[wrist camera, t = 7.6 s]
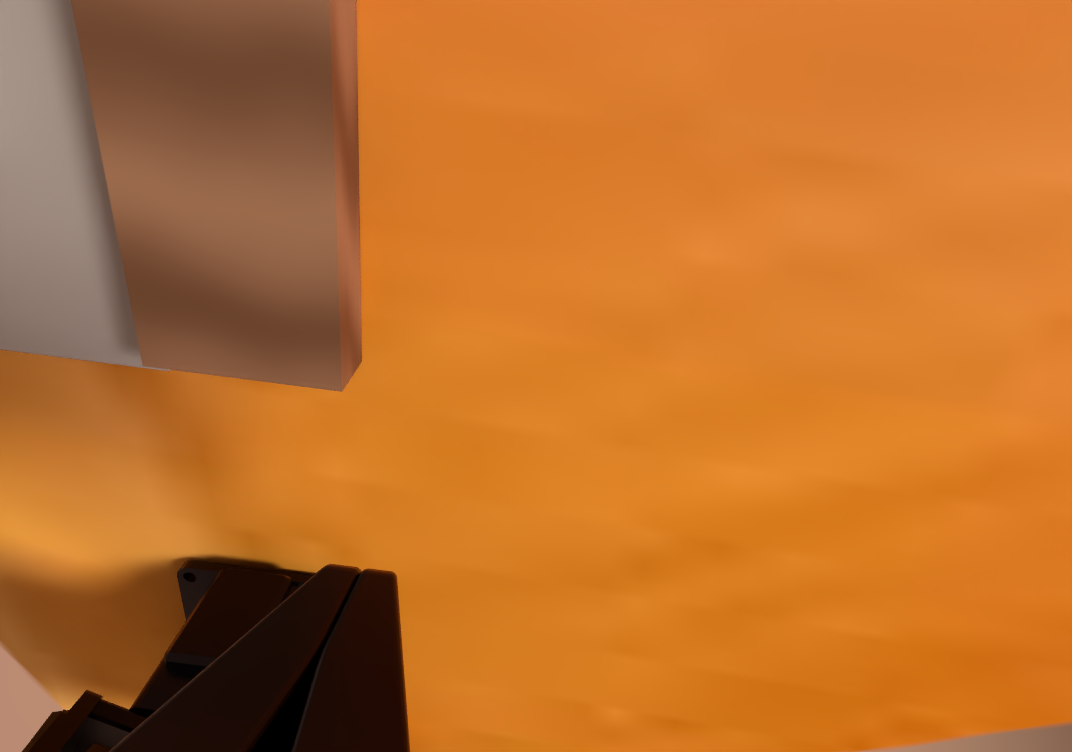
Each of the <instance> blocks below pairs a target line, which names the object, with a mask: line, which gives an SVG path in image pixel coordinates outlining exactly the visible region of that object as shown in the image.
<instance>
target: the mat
mask: <svg viewBox="0 0 1072 752" xmlns="http://www.w3.org/2000/svg"><path fill="white" fill-rule="evenodd" d="M0 350H8V351H16V352H24V353H32V354H39V355H47V356H55V357H63V358H71V359H78V360H86V361H94V362H102V363H109V364H117V365H125V366H133V367H141V368H148V369H156V370H164V371H170V369H162V368H154V367H146V366H143V365H142V360H141V355H140V350H139V345H138V340H137V335H136V330H135V325H134V320H133V315H132V309H131V304H130V299H129V294H128V289H127V284H126V279H125V274H124V269H123V264H122V259H121V253H120V248H119V243H118V238H117V233H116V228H115V223H114V218H113V213H112V208H111V203H110V198H109V192H108V187H107V182H106V177H105V172H104V167H103V162H102V157H101V152H100V147H99V142H98V136H97V131H96V126H95V121H94V116H93V111H92V106H91V101H90V96H89V91H88V86H87V80H86V75H85V70H84V65H83V60H82V55H81V50H80V45H79V40H78V35H77V30H76V25H75V19H74V14H73V9H72V4H71V0H0Z"/></svg>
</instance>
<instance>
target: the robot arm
mask: <svg viewBox="0 0 1072 752" xmlns="http://www.w3.org/2000/svg"><path fill="white" fill-rule="evenodd" d="M177 577H178V582H179V587H180V592H181V597H182V602H183V607H184V612H185V617H186V622H185V624H184V625H183V627H182V628H181V630H180V631H179V633H178V634H177V636H176V637H175V639H174V640H173V642H172V643H171V645H170V646H169V648H168V649H167V651H166V652H165V655H164V658H163V659H162V661H161V662H160V664H159V665H158V667H157V668H156V670H155V671H154V673H153V674H152V676H151V677H150V679H149V680H148V682H147V683H146V685H145V686H144V688H143V690H142V691H141V693H140V694H139V696H138V697H137V699H136V700H135V702H134V703H133V705H132V706H131V708H130V709H129V710H128V709H126V708H123V707H121V706H118V705H115V704H113V703H110V702H108V701H105V700H103V699H102V698H103V696H101V695H99V694H96V693H94V692H91V691H89V690H86V691H85V692H84V693H83V695H82V696H81V697H80V698H79V699H78V701H77V702H76V703H75V704H74V705H73V707H72V708H71V709H70V710H67V711H66V710H63V711H58V712H52V713H51V715H50V716H49V717H48V719H47V720H46V721H45V723H44V724H43V725H42V726H41V728H40V729H39V731H38V732H37V733H36V734H35V736H34V737H33V738H32V739H31V741H30V742H29V743H28V745H27V746H26V747H25V748H24V750H23V751H22V752H410V744H409V731H408V718H407V705H406V691H405V678H404V665H403V652H402V638H401V625H400V612H399V599H398V585H397V576H396V574H395V573H394V572H391V571H383V570H375V569H365V570H363V571H362V572H361V570H360V569H359V568H357V567H352V566H344V565H336V564H329V565H326V566H325V567H323V568H322V569H321V570H319V571H318V572H317V573H316V574H315V575H314V576H310V575H303V574H295V573H287V572H279V571H271V570H264V569H256V568H248V567H240V566H232V565H224V564H217V563H209V562H201V561H187V562H185V563H184V564H183V565H182V567H181V568H180V569H179V571H178V572H177Z"/></svg>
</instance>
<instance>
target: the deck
mask: <svg viewBox="0 0 1072 752" xmlns="http://www.w3.org/2000/svg"><path fill="white" fill-rule="evenodd" d="M71 4H72V9H73V14H74V19H75V25H76V30H77V35H78V40H79V45H80V50H81V55H82V60H83V65H84V70H85V75H86V80H87V86H88V91H89V96H90V101H91V106H92V111H93V116H94V121H95V126H96V131H97V136H98V142H99V147H100V152H101V157H102V162H103V167H104V172H105V177H106V182H107V187H108V192H109V198H110V203H111V208H112V213H113V218H114V223H115V228H116V233H117V238H118V243H119V248H120V253H121V259H122V264H123V269H124V274H125V279H126V284H127V289H128V294H129V299H130V304H131V309H132V315H133V320H134V325H135V330H136V335H137V340H138V345H139V350H140V355H141V360H142V365H143V366H146V367H154V368H162V369H170V370H177V371H185V372H193V373H201V374H208V375H216V376H224V377H232V378H240V379H247V380H255V381H263V382H271V383H278V384H286V385H294V386H302V387H310V388H317V389H325V390H333V391H341V392H342V391H343V389H344V388H345V386H346V385H347V383H348V382H349V380H350V379H351V377H352V376H353V374H354V373H355V371H356V369H357V368H358V366H359V365H360V363H361V362H362V348H361V282H360V217H359V152H358V87H357V22H356V0H71Z"/></svg>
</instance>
